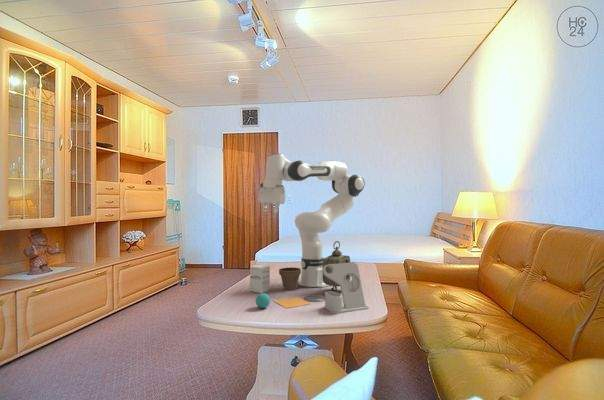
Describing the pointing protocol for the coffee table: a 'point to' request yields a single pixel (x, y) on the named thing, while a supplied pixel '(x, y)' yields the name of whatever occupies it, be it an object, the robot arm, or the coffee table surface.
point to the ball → (262, 300)
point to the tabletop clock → (334, 259)
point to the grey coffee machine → (344, 288)
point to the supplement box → (259, 278)
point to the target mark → (292, 302)
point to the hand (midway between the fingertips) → (270, 212)
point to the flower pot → (290, 277)
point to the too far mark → (314, 298)
